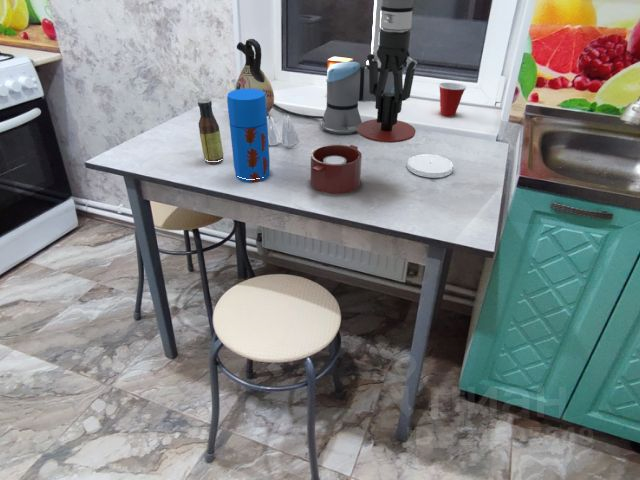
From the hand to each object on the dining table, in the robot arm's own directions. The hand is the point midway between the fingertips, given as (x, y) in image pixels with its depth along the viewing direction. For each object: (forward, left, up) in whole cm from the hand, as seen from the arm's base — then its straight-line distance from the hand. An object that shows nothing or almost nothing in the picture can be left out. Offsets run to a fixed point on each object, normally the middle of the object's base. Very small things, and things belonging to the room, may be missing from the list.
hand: (386, 122), depth 128 cm
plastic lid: (+6, +20, -20) cm, 29 cm away
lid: (0, 0, -2) cm, 2 cm away
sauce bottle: (-54, -15, -20) cm, 59 cm away
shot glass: (-13, -5, -20) cm, 24 cm away
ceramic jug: (-70, +24, -20) cm, 76 cm away
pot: (-13, -5, -20) cm, 24 cm away
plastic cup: (-10, +73, -20) cm, 76 cm away
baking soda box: (-58, +66, -20) cm, 91 cm away
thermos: (-37, -15, -20) cm, 45 cm away
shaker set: (-44, +8, -20) cm, 49 cm away
